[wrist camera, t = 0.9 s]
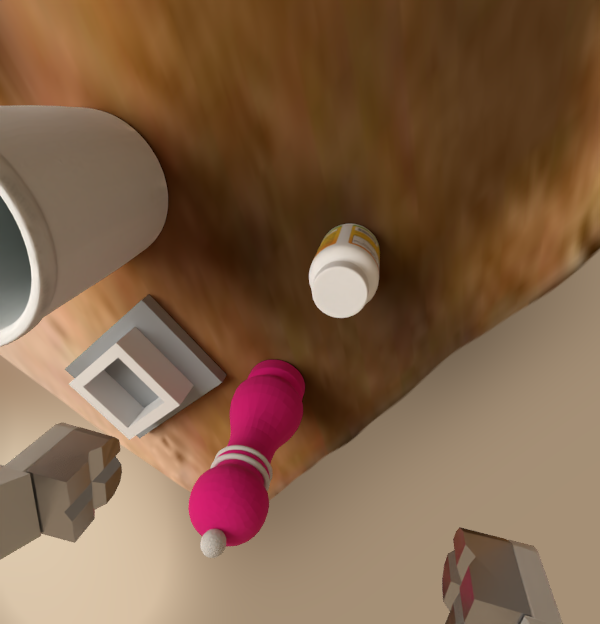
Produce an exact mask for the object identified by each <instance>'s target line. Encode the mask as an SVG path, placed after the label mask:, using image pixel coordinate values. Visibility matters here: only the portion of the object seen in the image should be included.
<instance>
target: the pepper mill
mask: <svg viewBox="0 0 600 624" xmlns="http://www.w3.org/2000/svg"><path fill="white" fill-rule="evenodd" d="M304 392H305V383H304V379H303V377H302V375H301V374H300V372H299V371H298V370H297V369H296V368H295V367H294V366H292V365H290V364H289V363H287V362H284V361H281V360H266V361H263V362H260V363H259V364H257V365H256V366H255V367H254V368H253V369H252V371H251V373H250V375H249V377H248V379H247V380H245V381H244V382H242V383H241V384H240V385H239V387H238V388H237V389H236V391H235V394H234V396H233V399H232V401H231V407H230V425H231V436H230V441H229V443H228V446H227V447H225V448H223V449H221V450H220V451H219V452H218V453H217V455H216V457H215V460H214V462H213V463H212V465H211V468H210V469H209V470H208V471H206V472H205V473H203V474H202V475H201V476H200V477H199V479H198V480H197V482H196V483H195V485H194V487H193V489H192V492H191V496H190V500H189V515H190V518H191V522H192V524H193V526H194V528H195V529H196V530H197V532H198V533H199V534H200V535H201V536H203V537H202V538H201V543H200V546H201V550H202V552H203V554H204V555H206V556H207V557H210V558H214V557H217V556H219V555H221V554H222V553H223V551H224V550H225V547H226V546H237V545H240V544H242V543H245V542H247V541H249V540H250V539H251V538H252V537H254V536H255V535H256V534H257V533H258V532H259V530H260V529H261V527H262V526H263V524H264V522H265V519H266V516H267V513H268V508H269V499H268V493H267V491H268V489H269V484H270V481H271V479H272V468H271V465H270V463H271V460H272V457H273V455H274V453H275V451H276V450H277V449H278V448H279V447H280V446H281V445H283V444H284V443H285V442H287V441H288V440H289V439H290V438H291V437H292V436H293V434H294V433H295V432H296V431H297V429H298V427H299V425H300V422H301V420H302V416H303V403H302V399H303V395H304Z"/></svg>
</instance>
